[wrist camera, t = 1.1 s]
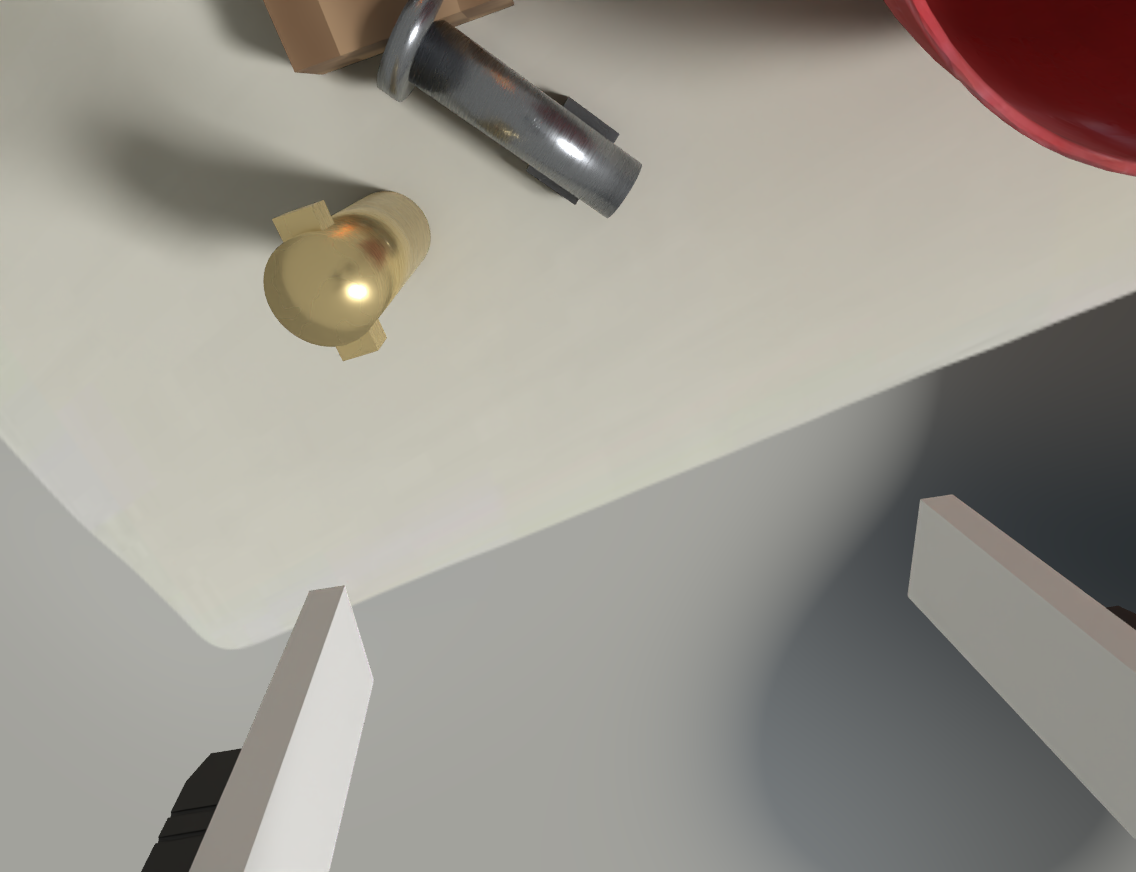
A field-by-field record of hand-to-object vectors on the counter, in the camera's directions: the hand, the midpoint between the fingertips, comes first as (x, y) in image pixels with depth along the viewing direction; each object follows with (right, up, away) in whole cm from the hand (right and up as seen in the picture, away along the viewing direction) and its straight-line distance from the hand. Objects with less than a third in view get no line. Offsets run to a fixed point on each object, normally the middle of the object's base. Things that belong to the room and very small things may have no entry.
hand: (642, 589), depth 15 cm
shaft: (-4, +20, +18) cm, 27 cm away
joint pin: (-11, +15, +21) cm, 28 cm away
